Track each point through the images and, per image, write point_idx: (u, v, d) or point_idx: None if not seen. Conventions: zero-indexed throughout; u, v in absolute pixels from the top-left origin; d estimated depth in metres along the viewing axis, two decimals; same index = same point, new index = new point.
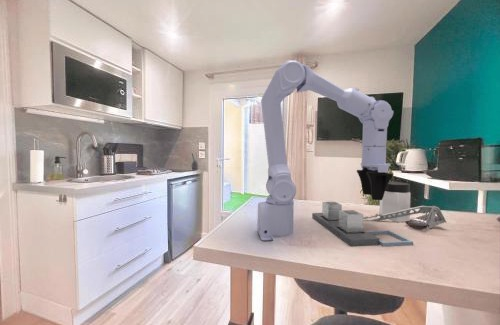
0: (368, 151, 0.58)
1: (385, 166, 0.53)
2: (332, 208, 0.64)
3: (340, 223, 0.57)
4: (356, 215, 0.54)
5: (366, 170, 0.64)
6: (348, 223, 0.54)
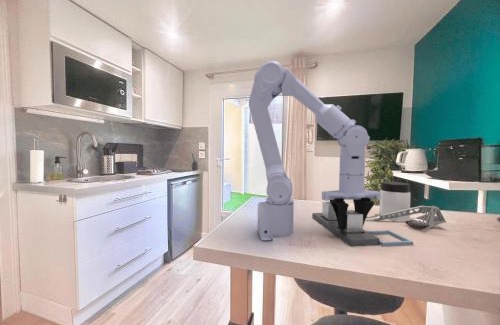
0: None
1: (324, 194, 0.54)
2: (332, 208, 0.64)
3: None
4: (356, 215, 0.54)
5: (358, 200, 0.56)
6: (348, 223, 0.54)
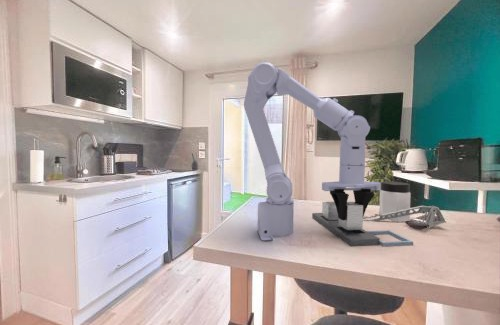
0: None
1: (324, 184, 0.54)
2: (332, 208, 0.64)
3: None
4: (356, 206, 0.54)
5: (358, 191, 0.56)
6: (348, 213, 0.54)
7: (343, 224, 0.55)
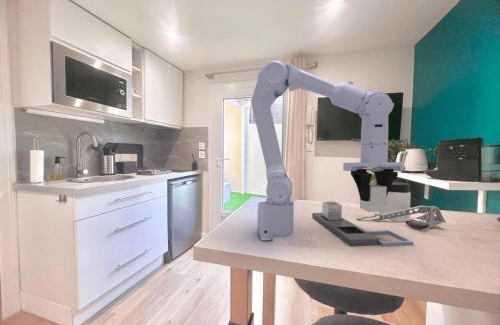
0: None
1: (346, 165, 0.53)
2: (332, 208, 0.64)
3: None
4: (379, 187, 0.52)
5: (380, 171, 0.55)
6: (371, 195, 0.52)
7: (365, 207, 0.54)
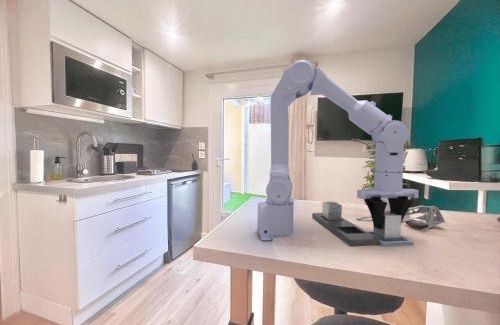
0: None
1: (360, 192, 0.52)
2: (332, 208, 0.64)
3: None
4: (394, 216, 0.52)
5: (394, 198, 0.54)
6: (386, 224, 0.51)
7: (379, 235, 0.53)
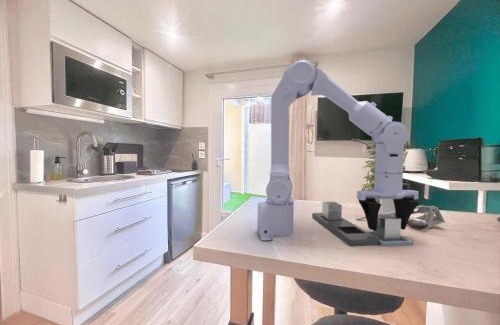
0: None
1: (360, 193, 0.52)
2: (332, 208, 0.64)
3: None
4: (394, 220, 0.52)
5: (399, 199, 0.54)
6: (385, 227, 0.51)
7: (379, 238, 0.53)
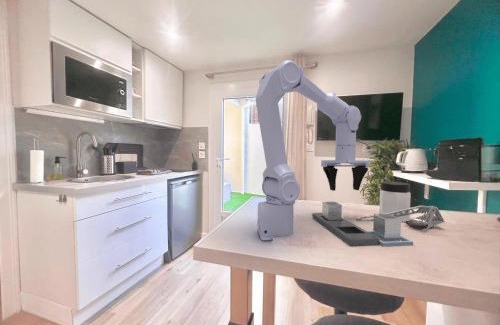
0: None
1: (323, 161, 0.67)
2: (332, 208, 0.64)
3: (375, 228, 0.55)
4: (394, 220, 0.52)
5: (355, 167, 0.69)
6: (385, 227, 0.51)
7: (379, 238, 0.53)
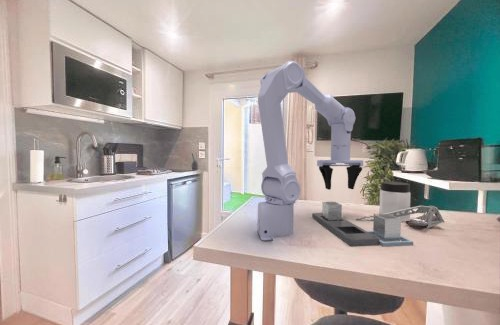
0: None
1: (318, 161, 0.69)
2: (332, 208, 0.64)
3: (375, 228, 0.55)
4: (394, 220, 0.52)
5: (350, 167, 0.72)
6: (385, 227, 0.51)
7: (379, 238, 0.53)
